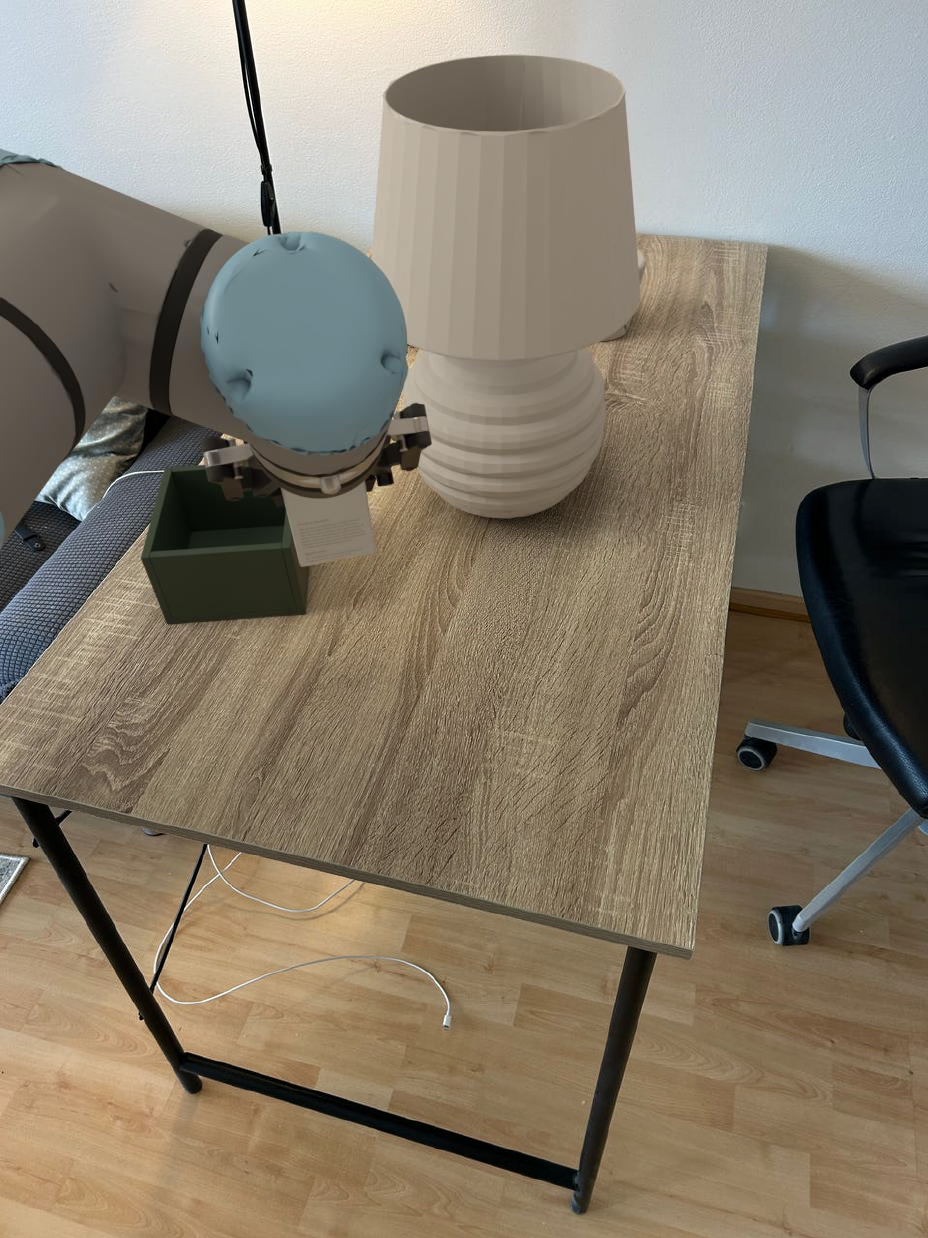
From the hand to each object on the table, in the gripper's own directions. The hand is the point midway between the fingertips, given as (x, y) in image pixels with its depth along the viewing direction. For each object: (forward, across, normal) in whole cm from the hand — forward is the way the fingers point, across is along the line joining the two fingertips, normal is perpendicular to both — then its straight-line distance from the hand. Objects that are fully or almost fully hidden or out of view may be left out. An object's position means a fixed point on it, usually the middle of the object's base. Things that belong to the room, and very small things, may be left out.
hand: (321, 482), depth 70 cm
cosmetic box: (0, 0, -5) cm, 5 cm away
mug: (+51, +41, +23) cm, 69 cm away
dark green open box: (+24, -9, -4) cm, 26 cm away
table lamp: (+29, +20, 0) cm, 35 cm away
